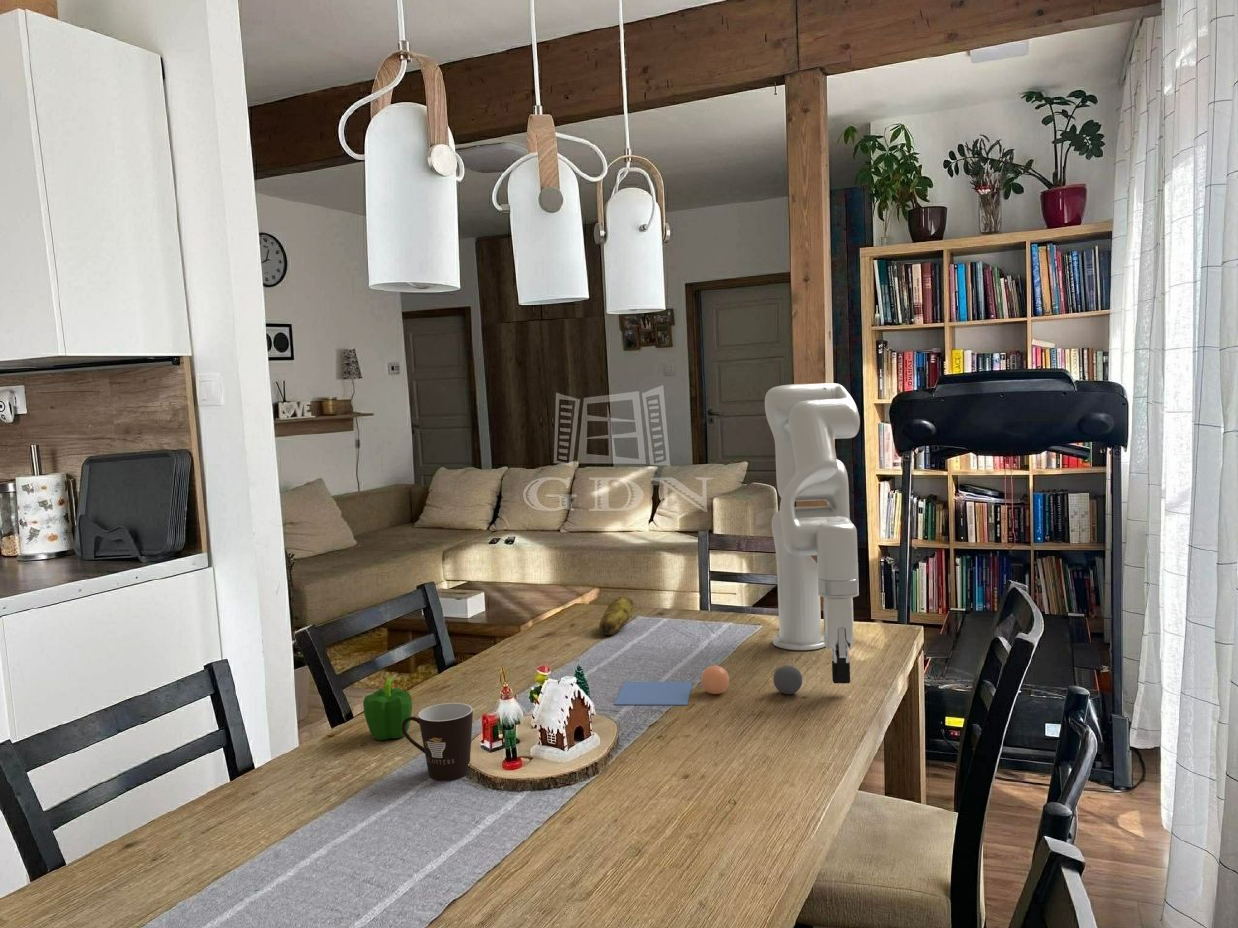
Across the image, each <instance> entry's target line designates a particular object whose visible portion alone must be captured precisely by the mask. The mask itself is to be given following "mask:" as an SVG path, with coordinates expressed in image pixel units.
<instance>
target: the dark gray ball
mask: <svg viewBox="0 0 1238 928" xmlns="http://www.w3.org/2000/svg"><path fill="white" fill-rule="evenodd" d="M772 679H773V684H774V687H775V689H776V690H777V691H778V692H780V693H782V694H784V695H793V694H796V693H797V692H798V691H799V690H800V689H801V687H802V685H803V677H802V673H801V671H800V670H799V669H798V668H797V667H795V666H793V665H789V664H786V665H785V664H784V665H781V666H780V667H778V668H777V669H776V671H775V672H774V675H773V678H772Z"/></svg>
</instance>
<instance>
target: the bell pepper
mask: <svg viewBox="0 0 1238 928" xmlns="http://www.w3.org/2000/svg"><path fill="white" fill-rule="evenodd" d="M392 682H393V678H392V677H388V678H387V679H386V680H385V684H384V689H383V688H379V689H377V690H376V691H374V692H373V693H372V694H368V695H365V697H364V700H363V704H362V705H363V706H362V707H363V714H364V718H365V721H366V724H367V726H368V729H369V732H370V734H371V737H373V738H374V739H375V740H378V741H384V740H385V741H386V740H388V739H400V738H403V737H405V735H404V734H403V732H402V723H403V721H404V720H405V719H407V718H408V717H412V712H413V698H412V696H411V694H410V691H406V690H403V689H401V688H399V686H398V687H397V686H396V687H393V688H391V687H392V685H391V684H392ZM410 725H411V721H408V722H407V723H406V727H405V728H406V732H407V733H408V731H409V729H410Z"/></svg>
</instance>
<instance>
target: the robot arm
mask: <svg viewBox="0 0 1238 928" xmlns="http://www.w3.org/2000/svg"><path fill="white" fill-rule="evenodd" d="M764 410H765V411H764V412H765V416H766V420H767V423H768V425H769V428H770V430H771V433H772V435H773V440H774V447H775V448H774V449H775V471H776V472H775V473H776V488H777V492H778V495H779V497H780V503H779V510H777V512H775V513H774V514H773V516H772V518H771V532H772V537H773V542H774V543H773V544H774V549H775V557H776V572H777V573H776V574H777V575H776V576H777V602H778V604H777V605H778V629H779V630H778V631H779V634H777V635H775V636H773V638H772V645H774V646H776V647H778V648H779V649H780V648H781V649H783V650H790V651H812V650H819V649H823V648H824V647H826V649H827V650H828V651H831V649H832V660H831V676H832V677H831V678H832V682H833V684H850V683H851V665H850V659H849V658H850V656H849V655H850V653H849V651H851V650H853V648H854V600H853V598H855V597H858V596H859V595H860V592H859V590H860V589H859V585H860V584H859V562H858V561H859V557H858V554H859V553H858V532H857V531H858V530H857V527H856V526H855V524H854V523H853V522H852V520H851V518H850V517H851V516H850V515H851V514H850V489H849V488H850V487H849V477H848V472H847V471H848V470H847V469H846V466H845V464H844V463H843V462H842V461H841V460H839V459H838V458H837V452H836V448H835V442H834V441H835V440H836V439H837V440H839V439H852V438H855V437H856V436H857V435H858V433H859V430H860V426H861V425H860V424H861V418H860V414H859V411H858V410H859V409H858V407H857V404H856V402H855V400H854V399H853V397H852V395H851V394H850V393H849V392H848V391H847V389H846V388H845V387H844V386H843V385H841V384H840V383H838V382H837V383H835V382H822V383H819V382H818V383H817V382H816V383H793V384H784V385H779V386H778V385H777V386H774V387H771V388H769V390H768V391H767V392H766V394H765V397H764ZM810 501H811V502H812V501H816V502H817V501H825V502H826V503H827V505H819V506H811V505H810V506H795V502H810ZM812 556H816V560H815V559H814V557H812ZM821 597H822V598H823V611H821ZM821 612H823V634H822V619H821V618H822V617H821V616H822V615H821V614H822V613H821Z"/></svg>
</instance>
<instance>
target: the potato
mask: <svg viewBox="0 0 1238 928" xmlns="http://www.w3.org/2000/svg"><path fill="white" fill-rule="evenodd" d="M634 611H635V603H634V601H633V600H632V599H630V598H629V597H625V596H618V597H615V598H614V599H612V600H611V602H610V603H609V605H608V606H607V608H606V609H605V611H604V613H603V615H602V617H601V618H600V622H599V627H598V628H599V630H600V632H601V633H602V634H603V635H606V636H607V635H608V636H612V635H614V634H616V633H617V632H618V630H619V631H620V630H621V629H622V628H624V626H626V624H627V623H628V621H629V620H630V619H631V618H632V616H633V614H634Z"/></svg>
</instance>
